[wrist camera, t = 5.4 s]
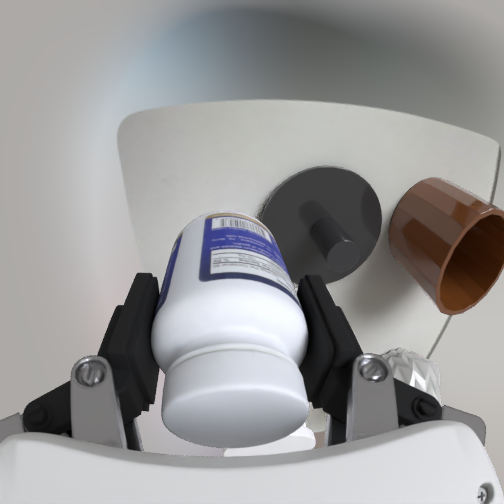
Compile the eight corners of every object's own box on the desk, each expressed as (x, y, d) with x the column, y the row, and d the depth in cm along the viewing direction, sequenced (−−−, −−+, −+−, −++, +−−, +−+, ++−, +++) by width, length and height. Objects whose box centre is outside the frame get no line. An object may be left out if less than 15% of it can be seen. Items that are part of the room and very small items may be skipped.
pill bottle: (216, 312, 16) (220, 463, 8) (152, 248, 13) (97, 408, 6) (297, 264, 15) (356, 417, 7) (238, 185, 12) (266, 333, 5)
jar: (400, 170, 30) (462, 202, 20) (469, 185, 32) (522, 215, 22) (377, 269, 37) (417, 322, 27) (444, 266, 39) (485, 307, 29)
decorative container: (283, 367, 45) (304, 460, 30) (216, 367, 44) (219, 466, 28) (298, 319, 40) (332, 427, 24) (218, 317, 38) (221, 436, 23)
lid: (263, 159, 29) (274, 175, 22) (387, 171, 30) (422, 190, 24) (254, 281, 36) (261, 319, 30) (362, 278, 38) (384, 310, 31)
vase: (429, 324, 45) (476, 393, 29) (408, 372, 53) (440, 434, 37) (359, 345, 45) (398, 432, 29) (347, 392, 53) (372, 463, 37)
